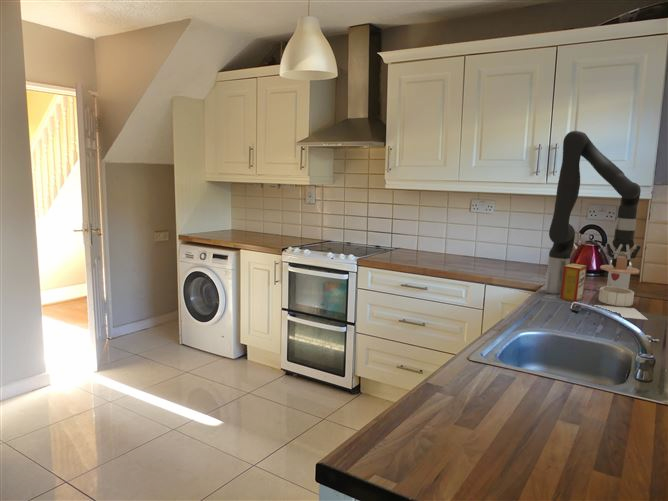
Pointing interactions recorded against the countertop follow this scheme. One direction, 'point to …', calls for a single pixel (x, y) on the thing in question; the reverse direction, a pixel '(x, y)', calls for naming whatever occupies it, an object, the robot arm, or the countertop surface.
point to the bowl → (616, 296)
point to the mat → (625, 312)
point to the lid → (620, 267)
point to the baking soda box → (573, 282)
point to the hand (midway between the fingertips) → (619, 266)
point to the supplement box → (618, 279)
